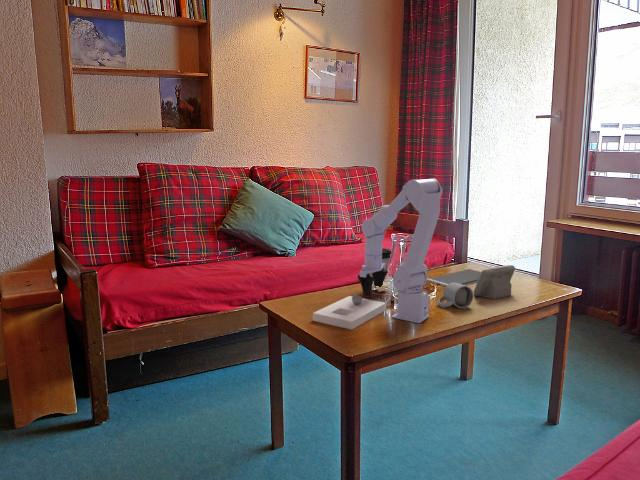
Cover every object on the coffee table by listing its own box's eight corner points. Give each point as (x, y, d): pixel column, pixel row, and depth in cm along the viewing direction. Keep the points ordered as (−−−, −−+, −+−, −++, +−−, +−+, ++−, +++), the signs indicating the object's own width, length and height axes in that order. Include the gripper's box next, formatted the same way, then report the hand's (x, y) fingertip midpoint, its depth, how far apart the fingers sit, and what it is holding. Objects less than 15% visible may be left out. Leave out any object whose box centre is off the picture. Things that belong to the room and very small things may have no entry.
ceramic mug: (459, 300, 189) (460, 279, 187) (473, 307, 181) (474, 285, 180) (433, 303, 185) (433, 282, 184) (446, 311, 178) (446, 288, 176)
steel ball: (364, 304, 176) (364, 293, 175) (359, 306, 173) (359, 296, 172) (355, 302, 178) (355, 292, 177) (349, 305, 175) (349, 294, 174)
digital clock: (504, 289, 202) (506, 262, 200) (520, 296, 194) (523, 267, 192) (467, 293, 197) (469, 265, 195) (482, 300, 189) (484, 271, 187)
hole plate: (385, 310, 178) (386, 302, 177) (351, 329, 160) (352, 321, 159) (349, 302, 185) (349, 295, 185) (313, 320, 168) (313, 312, 167)
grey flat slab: (425, 282, 214) (425, 278, 214) (469, 272, 230) (469, 268, 229) (451, 290, 203) (451, 286, 203) (496, 279, 219) (496, 274, 219)
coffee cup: (391, 294, 196) (392, 253, 193) (365, 292, 198) (366, 252, 195) (392, 287, 205) (394, 248, 202) (368, 285, 207) (368, 247, 204)
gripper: (373, 249, 189) (372, 286, 192) (352, 256, 177) (351, 296, 180) (391, 251, 185) (390, 289, 188) (371, 259, 174) (370, 300, 176)
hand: (372, 293), depth 184 cm, fingers open, 7 cm apart
